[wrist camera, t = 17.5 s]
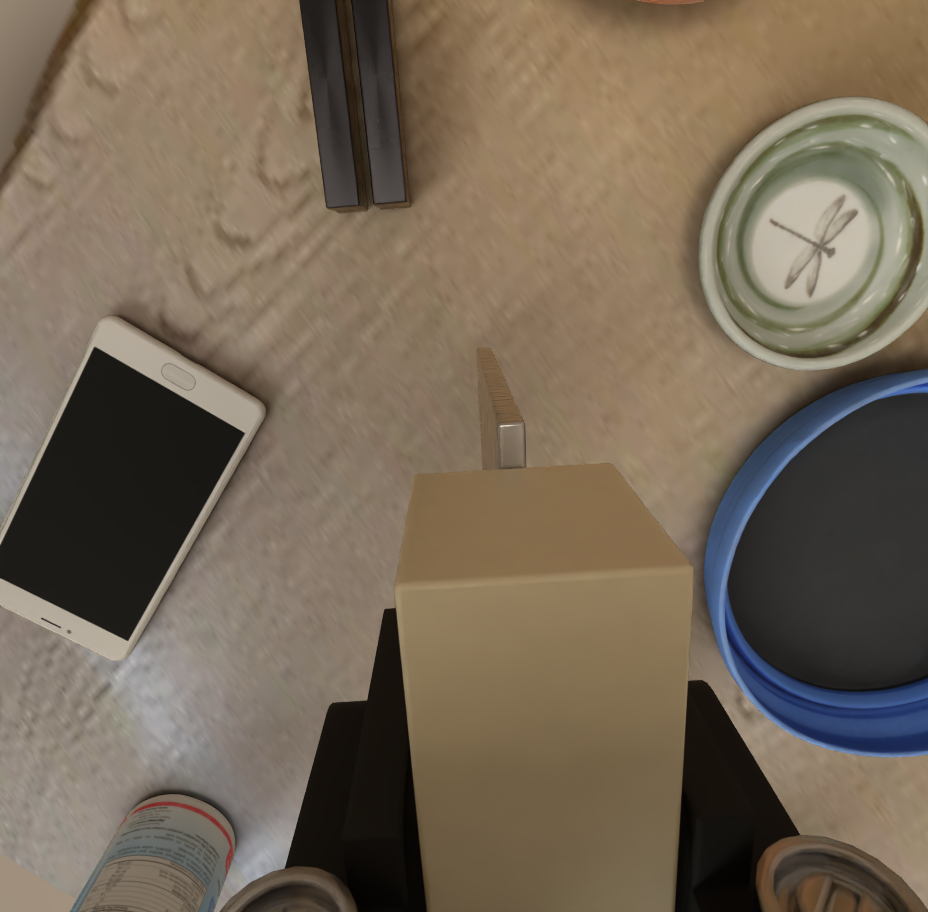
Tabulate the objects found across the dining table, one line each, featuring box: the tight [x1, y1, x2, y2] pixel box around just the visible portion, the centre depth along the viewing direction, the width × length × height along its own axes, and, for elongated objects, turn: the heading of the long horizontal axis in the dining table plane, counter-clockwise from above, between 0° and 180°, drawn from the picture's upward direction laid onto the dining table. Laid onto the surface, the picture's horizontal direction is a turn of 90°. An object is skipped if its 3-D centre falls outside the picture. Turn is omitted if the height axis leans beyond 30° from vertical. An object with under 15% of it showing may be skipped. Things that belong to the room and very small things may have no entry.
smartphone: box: [0, 315, 266, 661], centre depth 28 cm, size 8×1×15 cm
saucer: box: [698, 97, 928, 371], centre depth 25 cm, size 10×10×2 cm
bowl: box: [704, 369, 928, 757], centre depth 28 cm, size 18×18×4 cm
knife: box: [394, 347, 694, 912], centre depth 10 cm, size 2×9×8 cm, turn 3°
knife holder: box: [299, 0, 411, 213], centre depth 23 cm, size 3×8×2 cm, turn 4°
